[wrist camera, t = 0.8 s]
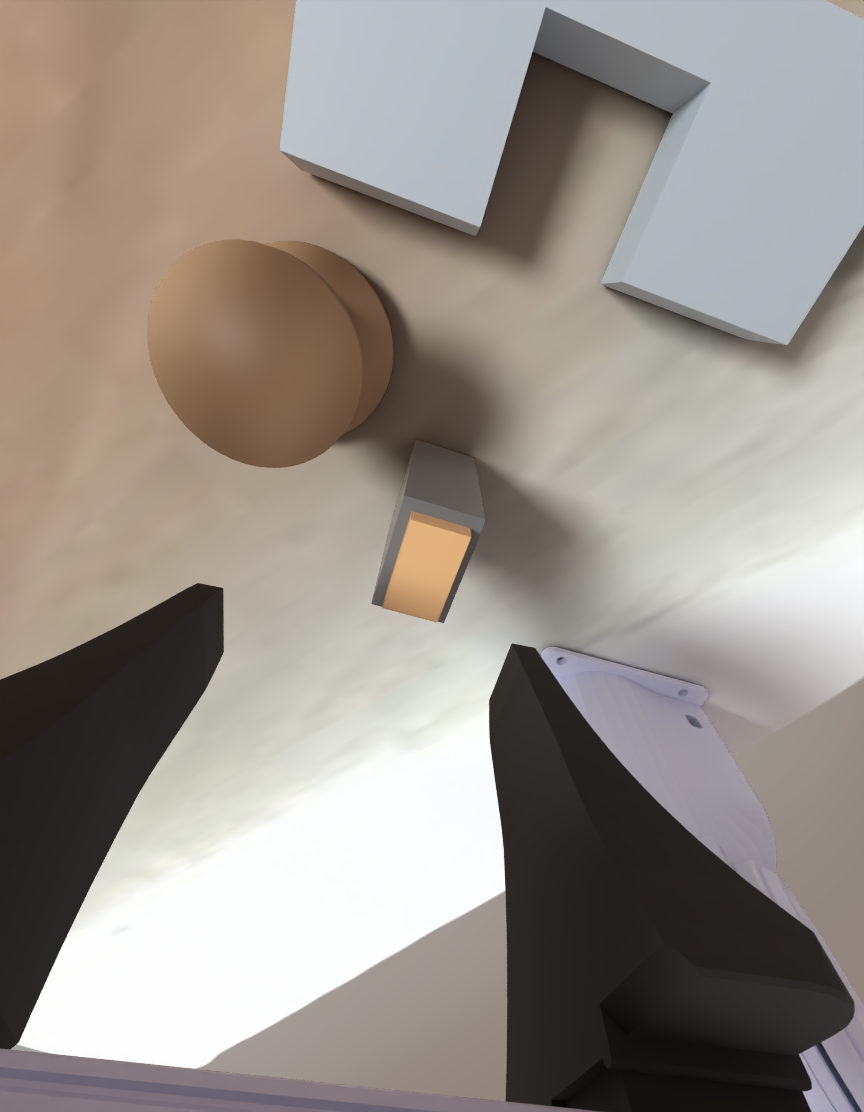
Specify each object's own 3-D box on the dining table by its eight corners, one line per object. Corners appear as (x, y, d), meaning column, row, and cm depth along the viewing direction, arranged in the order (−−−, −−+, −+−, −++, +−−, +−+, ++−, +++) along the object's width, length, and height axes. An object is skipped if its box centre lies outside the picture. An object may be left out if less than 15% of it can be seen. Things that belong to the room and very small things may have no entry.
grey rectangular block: (474, 457, 19) (487, 528, 13) (444, 540, 21) (443, 634, 15) (415, 439, 18) (402, 503, 13) (390, 524, 20) (368, 614, 14)
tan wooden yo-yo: (414, 281, 16) (402, 273, 11) (371, 455, 19) (347, 506, 14) (225, 212, 15) (129, 174, 10) (211, 406, 18) (133, 443, 13)
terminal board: (887, 103, 13) (963, 68, 11) (746, 339, 16) (787, 345, 14) (345, -157, 11) (324, -252, 9) (301, 170, 14) (279, 150, 12)
